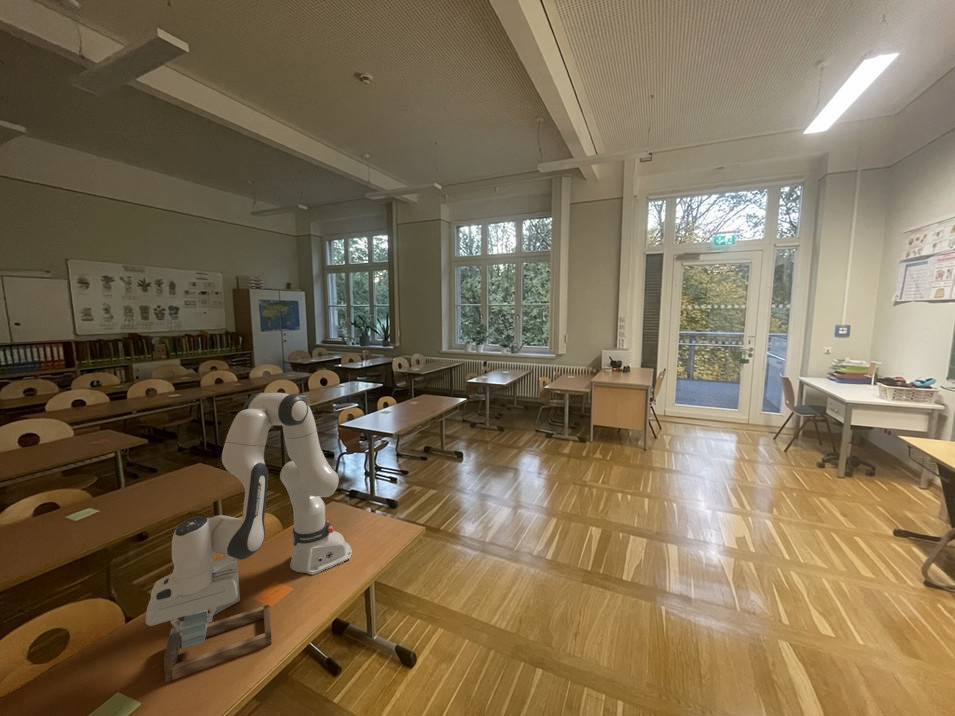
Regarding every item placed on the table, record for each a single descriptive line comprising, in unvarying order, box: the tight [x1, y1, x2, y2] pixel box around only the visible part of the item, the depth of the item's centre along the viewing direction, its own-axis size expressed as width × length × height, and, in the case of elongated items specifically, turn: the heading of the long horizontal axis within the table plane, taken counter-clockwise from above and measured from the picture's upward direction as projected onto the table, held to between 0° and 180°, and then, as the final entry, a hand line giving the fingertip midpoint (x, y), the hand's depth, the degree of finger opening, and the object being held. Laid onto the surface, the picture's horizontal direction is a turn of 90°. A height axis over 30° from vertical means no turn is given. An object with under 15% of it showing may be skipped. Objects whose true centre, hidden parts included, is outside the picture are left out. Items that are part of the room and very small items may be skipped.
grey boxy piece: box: [180, 609, 209, 650], centre depth 105 cm, size 5×8×6 cm, turn 30°
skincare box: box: [208, 555, 241, 616], centre depth 123 cm, size 8×6×15 cm
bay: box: [163, 604, 272, 684], centre depth 109 cm, size 24×14×6 cm, turn 121°
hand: (195, 625), depth 105 cm, fingers closed on grey boxy piece, 5 cm apart
